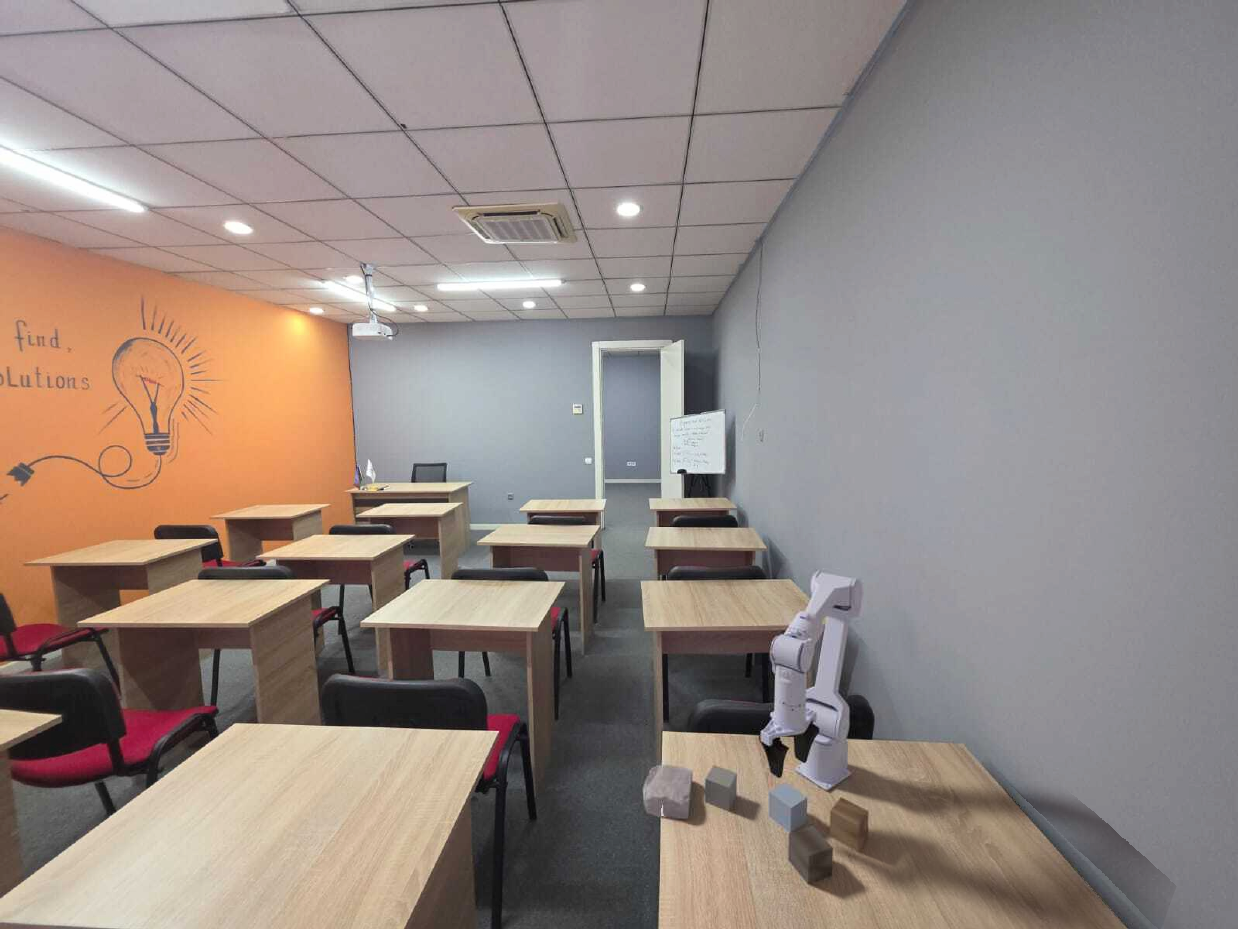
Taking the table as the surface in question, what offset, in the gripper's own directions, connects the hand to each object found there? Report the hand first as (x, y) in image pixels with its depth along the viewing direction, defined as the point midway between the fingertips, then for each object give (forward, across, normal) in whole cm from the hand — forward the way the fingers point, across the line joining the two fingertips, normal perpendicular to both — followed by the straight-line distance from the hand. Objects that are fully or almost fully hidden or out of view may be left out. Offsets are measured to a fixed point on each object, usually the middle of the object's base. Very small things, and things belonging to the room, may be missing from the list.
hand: (788, 767), depth 94 cm
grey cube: (+10, +7, -11) cm, 17 cm away
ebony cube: (+10, +6, +9) cm, 15 cm away
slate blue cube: (+10, 0, 0) cm, 10 cm away
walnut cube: (+10, -6, +9) cm, 15 cm away
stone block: (+11, +16, -18) cm, 26 cm away
